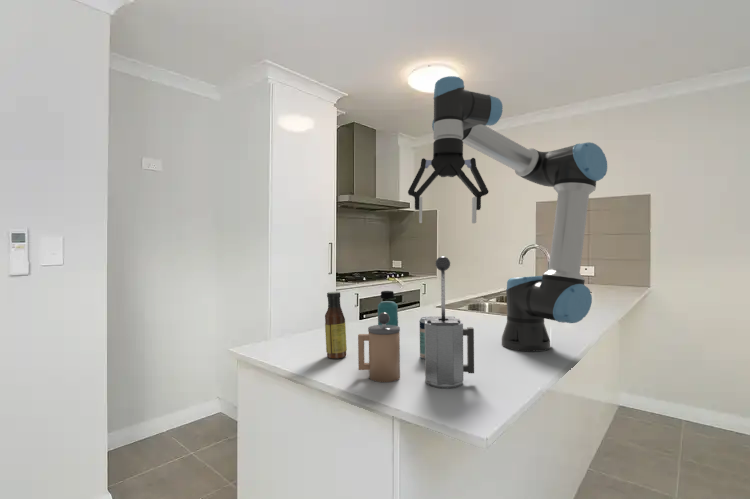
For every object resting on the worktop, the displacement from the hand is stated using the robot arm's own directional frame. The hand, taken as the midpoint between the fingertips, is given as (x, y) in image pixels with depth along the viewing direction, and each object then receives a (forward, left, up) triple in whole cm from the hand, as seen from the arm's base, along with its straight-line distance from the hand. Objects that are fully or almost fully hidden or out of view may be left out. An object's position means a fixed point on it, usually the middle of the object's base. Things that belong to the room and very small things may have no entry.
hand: (447, 223), depth 104 cm
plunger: (+2, +4, -28) cm, 28 cm away
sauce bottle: (+33, -17, -40) cm, 54 cm away
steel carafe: (0, +4, -40) cm, 40 cm away
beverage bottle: (+17, -19, -40) cm, 47 cm away
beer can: (+5, -17, -40) cm, 44 cm away
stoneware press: (+18, +1, -40) cm, 44 cm away
